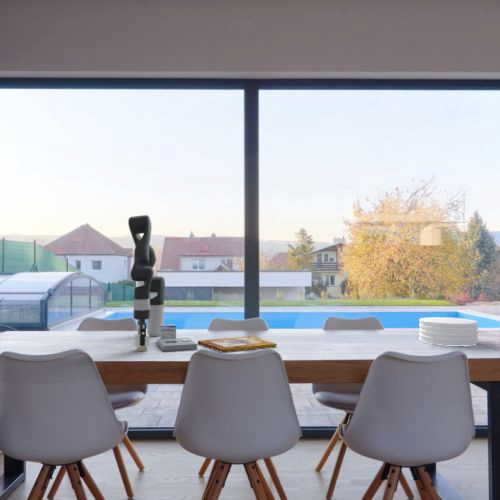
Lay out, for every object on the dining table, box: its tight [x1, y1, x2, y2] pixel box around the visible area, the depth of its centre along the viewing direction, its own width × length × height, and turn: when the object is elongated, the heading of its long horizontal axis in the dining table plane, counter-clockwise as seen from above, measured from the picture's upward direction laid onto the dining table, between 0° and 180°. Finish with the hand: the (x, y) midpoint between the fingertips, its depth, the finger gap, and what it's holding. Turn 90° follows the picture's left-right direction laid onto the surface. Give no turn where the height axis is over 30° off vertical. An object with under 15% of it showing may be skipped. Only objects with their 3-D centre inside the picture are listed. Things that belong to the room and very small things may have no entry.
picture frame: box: [197, 335, 277, 353], centre depth 233 cm, size 27×2×30 cm
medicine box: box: [159, 324, 177, 339], centre depth 244 cm, size 8×4×9 cm, turn 105°
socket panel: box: [156, 337, 198, 352], centre depth 228 cm, size 20×16×3 cm
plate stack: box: [418, 316, 479, 345], centre depth 243 cm, size 28×28×12 cm
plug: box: [133, 333, 150, 352], centre depth 220 cm, size 6×6×7 cm
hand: (141, 344), depth 220 cm, fingers closed on plug, 5 cm apart
